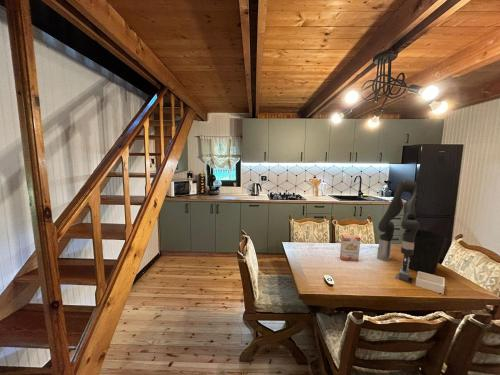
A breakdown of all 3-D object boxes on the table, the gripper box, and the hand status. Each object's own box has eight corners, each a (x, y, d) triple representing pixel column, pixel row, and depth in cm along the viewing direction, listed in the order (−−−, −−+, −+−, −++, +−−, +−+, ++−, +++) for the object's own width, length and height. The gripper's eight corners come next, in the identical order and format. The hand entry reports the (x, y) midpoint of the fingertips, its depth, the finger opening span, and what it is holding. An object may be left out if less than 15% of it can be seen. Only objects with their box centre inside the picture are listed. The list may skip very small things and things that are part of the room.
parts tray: (415, 286, 164) (416, 278, 164) (417, 278, 176) (418, 271, 175) (443, 295, 155) (444, 286, 154) (443, 285, 167) (444, 277, 166)
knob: (398, 278, 174) (401, 259, 172) (400, 275, 178) (402, 257, 176) (408, 281, 170) (410, 261, 168) (409, 278, 174) (411, 259, 173)
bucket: (424, 279, 175) (429, 239, 171) (392, 263, 201) (396, 228, 197) (451, 275, 182) (457, 237, 178) (417, 260, 208) (421, 226, 205)
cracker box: (341, 260, 204) (343, 236, 201) (339, 257, 210) (341, 234, 207) (358, 261, 202) (360, 237, 200) (356, 258, 208) (358, 235, 206)
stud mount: (394, 279, 173) (395, 273, 173) (396, 274, 181) (397, 268, 181) (411, 284, 167) (412, 277, 167) (412, 279, 175) (413, 272, 174)
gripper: (402, 243, 179) (400, 264, 181) (399, 248, 168) (397, 271, 170) (414, 245, 174) (412, 267, 176) (412, 251, 163) (409, 274, 165)
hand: (405, 269), depth 173 cm, fingers open, 5 cm apart
